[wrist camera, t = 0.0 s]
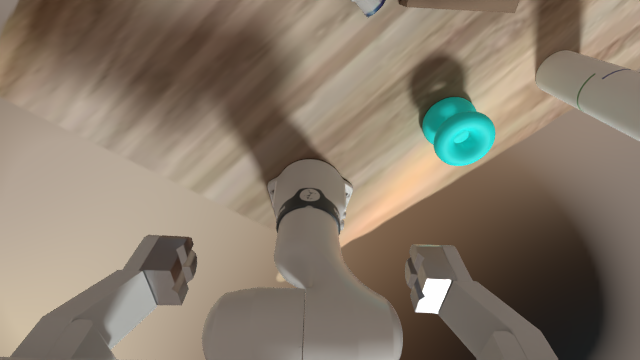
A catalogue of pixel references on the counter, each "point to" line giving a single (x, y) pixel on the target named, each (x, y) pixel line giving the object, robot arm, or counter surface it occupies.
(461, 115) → the donuts
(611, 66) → the cylindrical container
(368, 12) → the white handheld wand
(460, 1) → the socket block
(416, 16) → the counter surface
